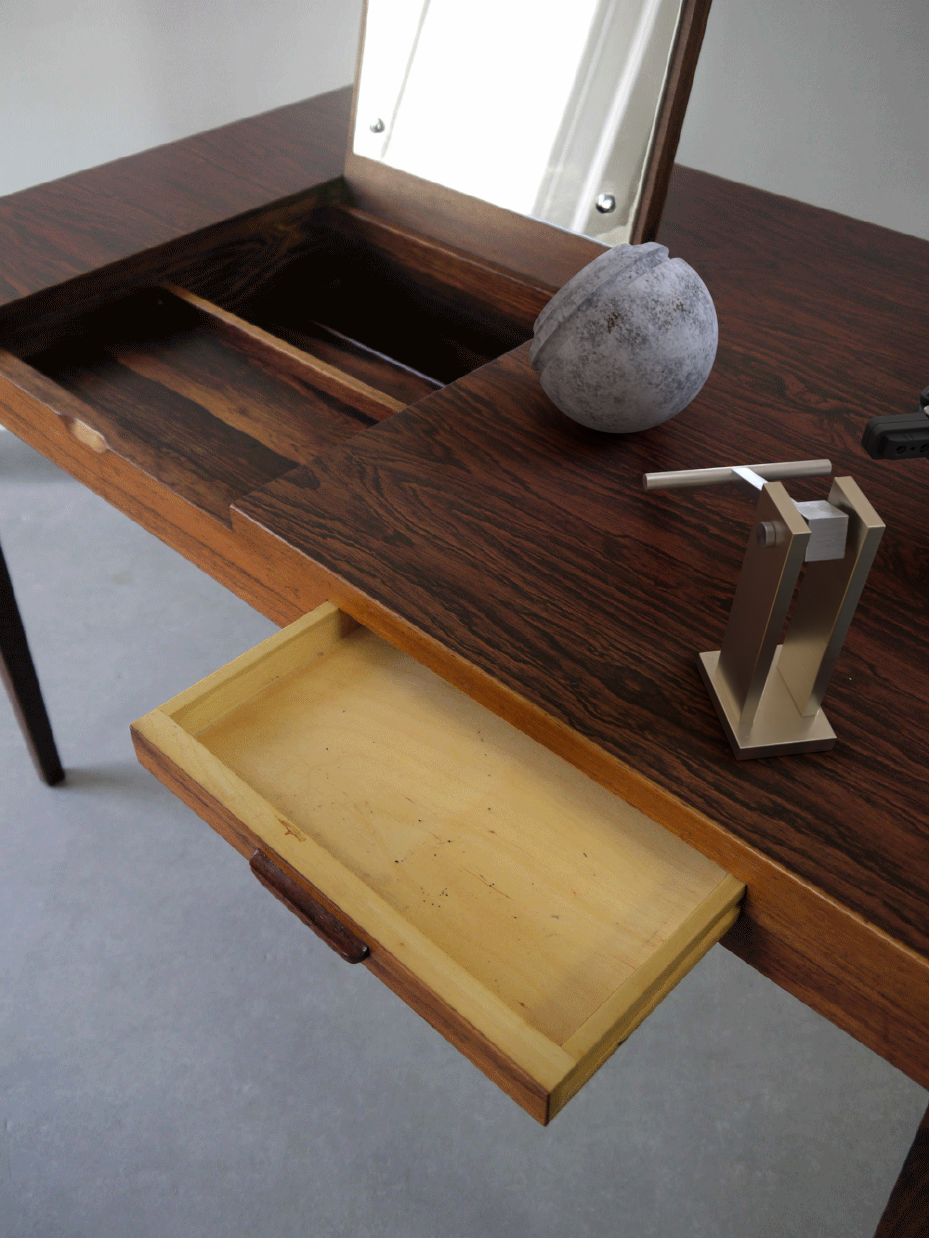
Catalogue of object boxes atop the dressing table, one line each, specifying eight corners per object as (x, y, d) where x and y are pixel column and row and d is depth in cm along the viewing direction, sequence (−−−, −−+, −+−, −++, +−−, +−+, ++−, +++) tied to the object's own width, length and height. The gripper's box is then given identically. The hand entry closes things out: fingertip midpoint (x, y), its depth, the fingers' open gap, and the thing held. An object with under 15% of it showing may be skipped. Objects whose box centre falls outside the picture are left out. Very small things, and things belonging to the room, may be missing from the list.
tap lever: (641, 498, 66) (642, 461, 66) (822, 483, 68) (826, 446, 67) (714, 570, 55) (717, 527, 54) (931, 551, 56) (938, 507, 55)
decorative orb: (599, 357, 97) (617, 193, 87) (734, 416, 90) (772, 246, 80) (492, 421, 89) (498, 249, 79) (632, 492, 82) (659, 314, 72)
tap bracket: (695, 665, 68) (742, 463, 57) (783, 656, 69) (846, 455, 58) (736, 761, 63) (797, 557, 52) (832, 750, 63) (912, 547, 52)
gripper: (1088, 316, 70) (840, 333, 68) (1220, 425, 60) (937, 449, 58) (1044, 413, 75) (813, 431, 73) (1160, 528, 66) (898, 553, 64)
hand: (869, 439), depth 66 cm, fingers closed
